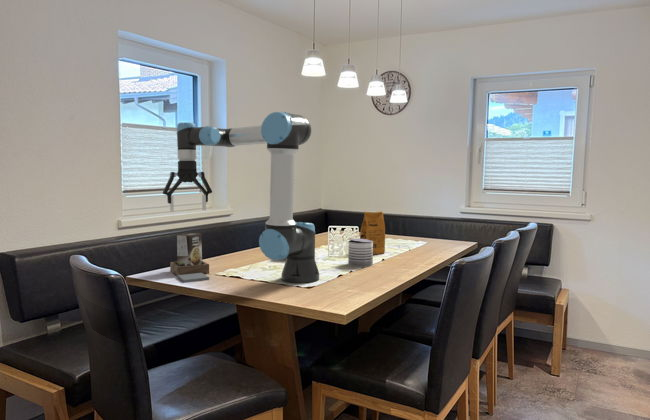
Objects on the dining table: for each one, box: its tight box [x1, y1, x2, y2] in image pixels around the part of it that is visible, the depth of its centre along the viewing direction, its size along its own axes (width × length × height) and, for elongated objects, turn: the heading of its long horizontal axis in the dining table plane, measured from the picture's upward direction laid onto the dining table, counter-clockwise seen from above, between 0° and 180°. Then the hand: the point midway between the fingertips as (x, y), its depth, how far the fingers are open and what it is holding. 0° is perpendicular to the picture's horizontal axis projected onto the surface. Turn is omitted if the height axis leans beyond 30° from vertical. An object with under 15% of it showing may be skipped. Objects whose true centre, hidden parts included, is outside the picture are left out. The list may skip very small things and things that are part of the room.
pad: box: [176, 273, 210, 283], centre depth 196 cm, size 10×10×1 cm
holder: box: [169, 260, 210, 277], centre depth 207 cm, size 13×13×4 cm
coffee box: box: [176, 232, 203, 267], centre depth 207 cm, size 9×6×16 cm
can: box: [347, 237, 374, 268], centre depth 225 cm, size 11×11×12 cm
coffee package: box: [359, 211, 386, 255], centre depth 255 cm, size 10×12×22 cm
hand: (188, 210), depth 205 cm, fingers open, 13 cm apart
